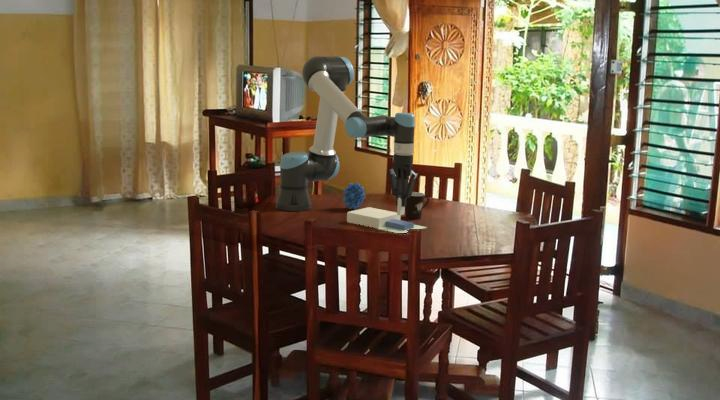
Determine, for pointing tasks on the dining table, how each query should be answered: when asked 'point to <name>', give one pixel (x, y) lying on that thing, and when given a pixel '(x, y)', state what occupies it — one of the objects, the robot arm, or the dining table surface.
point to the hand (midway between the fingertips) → (400, 214)
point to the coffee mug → (415, 205)
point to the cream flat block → (371, 217)
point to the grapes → (354, 195)
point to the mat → (399, 229)
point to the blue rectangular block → (399, 224)
